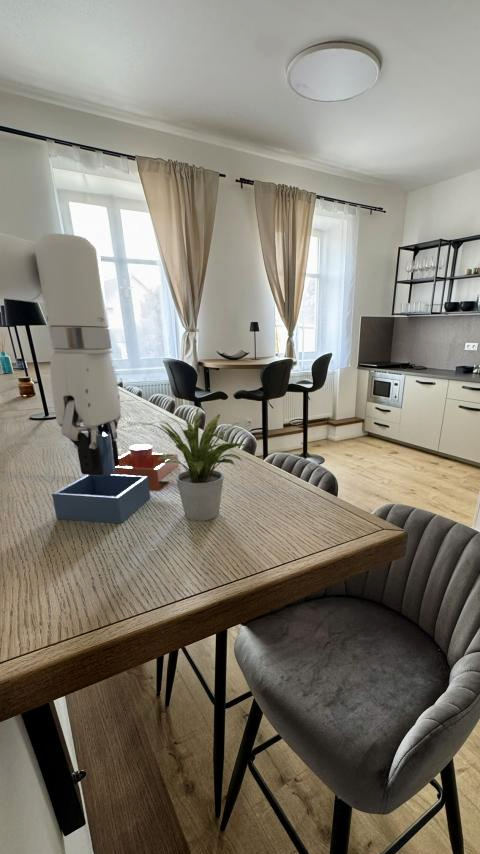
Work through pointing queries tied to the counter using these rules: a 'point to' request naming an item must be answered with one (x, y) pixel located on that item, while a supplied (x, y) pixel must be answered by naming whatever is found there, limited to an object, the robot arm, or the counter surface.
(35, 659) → the counter surface
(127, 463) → the terracotta bin
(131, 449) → the red cylinder
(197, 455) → the house plant
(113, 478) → the blue bin
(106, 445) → the tall blue post
